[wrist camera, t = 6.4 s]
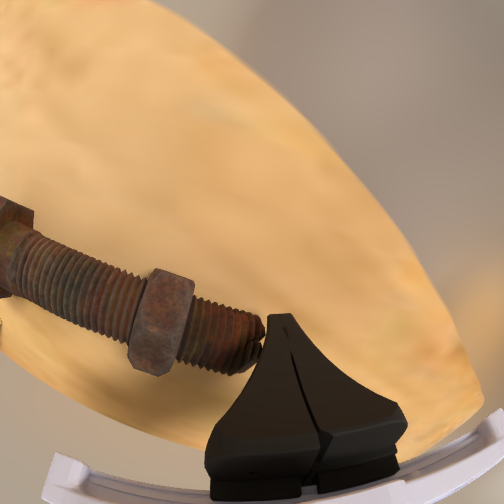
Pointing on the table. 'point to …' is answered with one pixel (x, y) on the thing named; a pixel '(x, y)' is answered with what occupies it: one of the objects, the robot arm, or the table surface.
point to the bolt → (125, 303)
